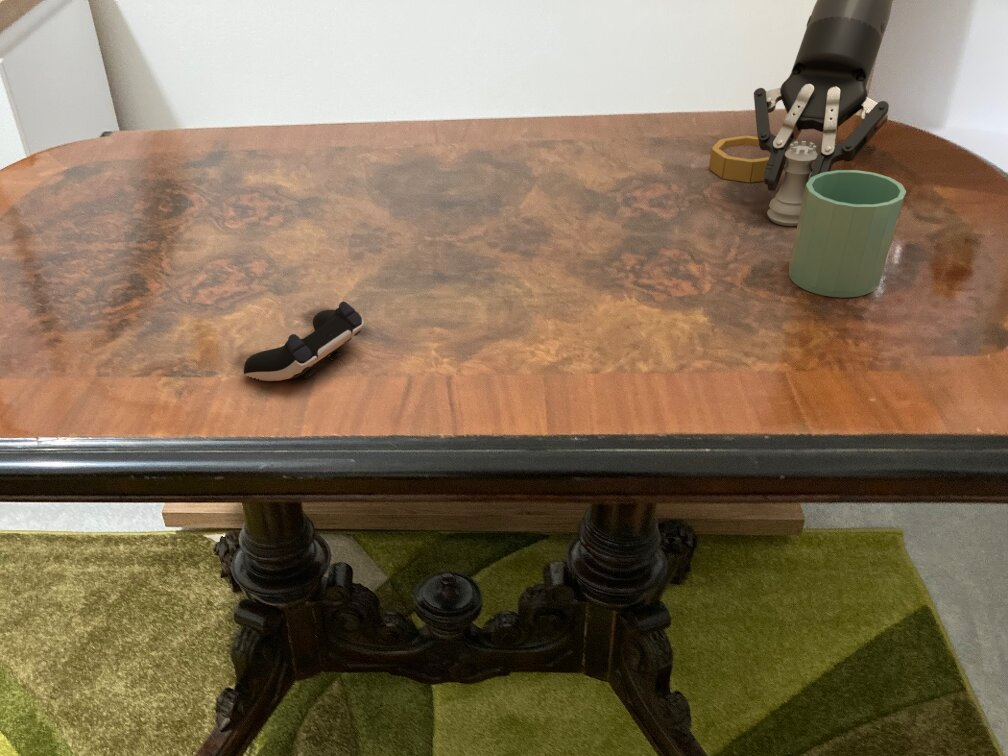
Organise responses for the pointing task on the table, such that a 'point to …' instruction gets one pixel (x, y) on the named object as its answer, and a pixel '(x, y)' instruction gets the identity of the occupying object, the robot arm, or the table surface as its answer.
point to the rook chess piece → (793, 184)
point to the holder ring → (737, 161)
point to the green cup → (845, 232)
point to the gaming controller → (307, 346)
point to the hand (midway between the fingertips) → (790, 190)
